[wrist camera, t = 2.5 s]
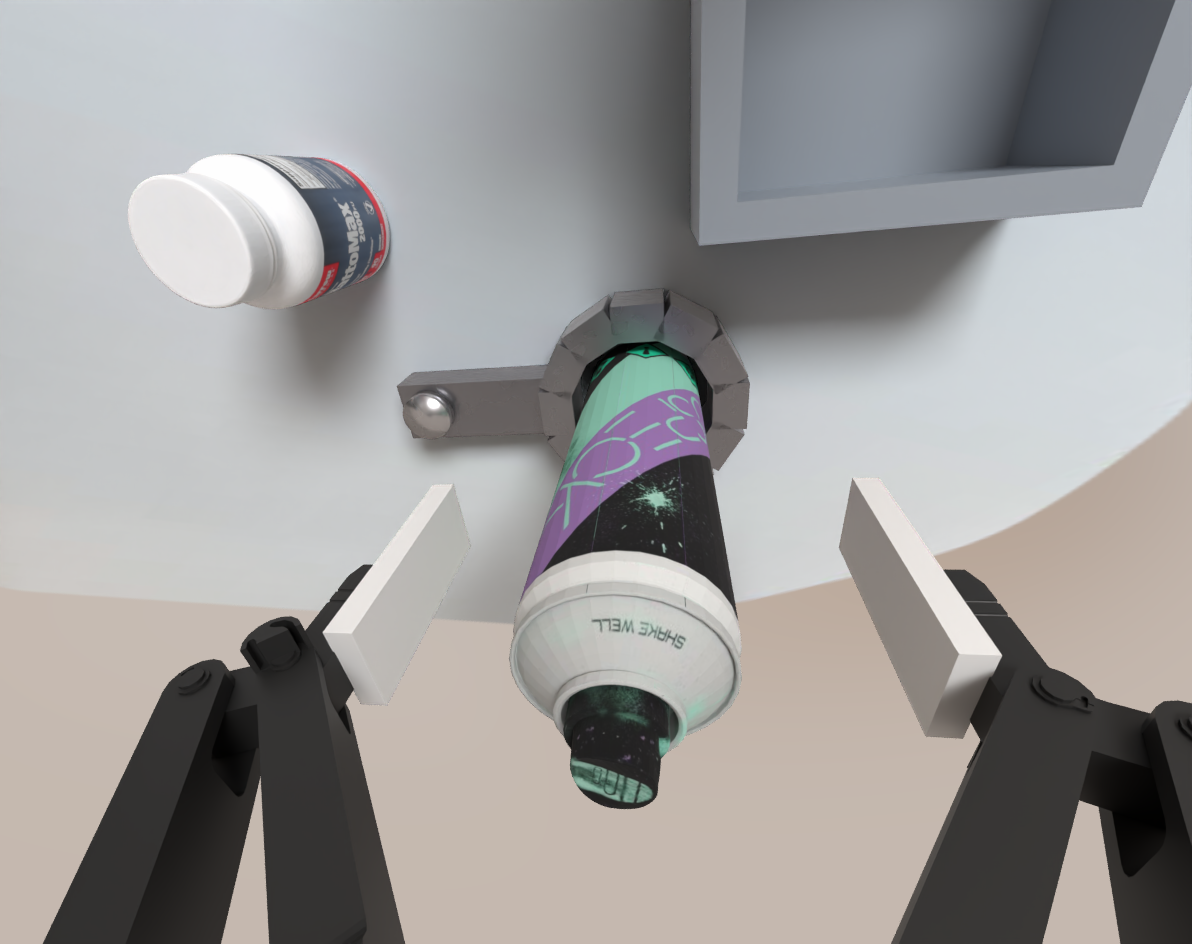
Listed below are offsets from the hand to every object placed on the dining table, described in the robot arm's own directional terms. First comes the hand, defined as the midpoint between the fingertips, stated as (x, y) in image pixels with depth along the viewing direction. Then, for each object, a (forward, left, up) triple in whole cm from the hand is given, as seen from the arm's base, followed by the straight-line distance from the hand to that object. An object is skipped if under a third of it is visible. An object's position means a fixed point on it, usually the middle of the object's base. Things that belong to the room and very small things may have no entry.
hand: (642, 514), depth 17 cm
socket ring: (-4, 0, -11) cm, 12 cm away
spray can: (0, 0, -11) cm, 11 cm away
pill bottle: (-14, +9, -11) cm, 20 cm away
